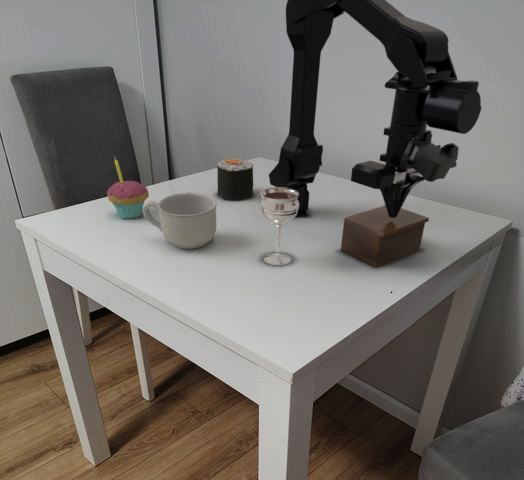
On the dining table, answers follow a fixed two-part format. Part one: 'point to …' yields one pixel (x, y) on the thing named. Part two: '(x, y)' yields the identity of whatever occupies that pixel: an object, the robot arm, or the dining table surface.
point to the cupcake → (127, 196)
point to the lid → (385, 221)
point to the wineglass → (279, 215)
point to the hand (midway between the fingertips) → (392, 217)
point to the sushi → (235, 179)
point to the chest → (380, 244)
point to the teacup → (185, 218)
